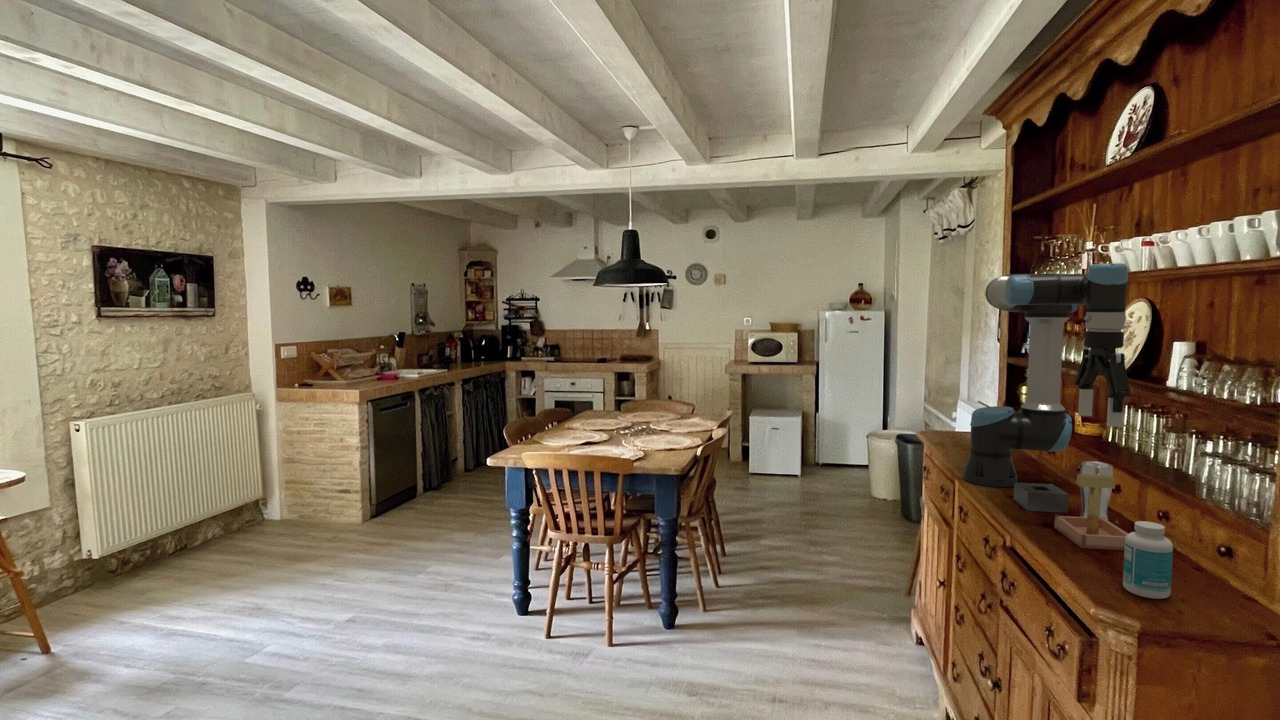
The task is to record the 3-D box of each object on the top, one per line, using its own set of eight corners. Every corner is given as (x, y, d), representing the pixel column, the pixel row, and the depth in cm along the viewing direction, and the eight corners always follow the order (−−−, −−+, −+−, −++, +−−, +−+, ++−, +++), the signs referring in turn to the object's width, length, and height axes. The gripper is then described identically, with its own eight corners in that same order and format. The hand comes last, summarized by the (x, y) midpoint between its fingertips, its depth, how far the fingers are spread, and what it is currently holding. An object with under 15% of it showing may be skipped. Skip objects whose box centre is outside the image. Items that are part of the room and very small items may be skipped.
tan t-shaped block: (1105, 534, 158) (1109, 475, 156) (1111, 537, 155) (1115, 478, 154) (1073, 532, 159) (1077, 474, 157) (1078, 536, 157) (1082, 477, 155)
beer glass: (1115, 526, 165) (1119, 468, 164) (1084, 525, 166) (1088, 467, 165) (1102, 517, 172) (1105, 461, 171) (1072, 516, 173) (1075, 460, 172)
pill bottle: (1179, 597, 126) (1184, 528, 125) (1153, 603, 124) (1158, 533, 122) (1138, 581, 133) (1142, 516, 132) (1113, 587, 131) (1117, 521, 129)
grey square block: (1013, 499, 188) (1014, 482, 187) (1051, 501, 186) (1052, 484, 186) (1027, 510, 178) (1028, 492, 177) (1067, 512, 176) (1068, 494, 176)
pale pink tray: (1054, 527, 165) (1054, 515, 165) (1103, 529, 163) (1103, 518, 163) (1081, 547, 151) (1081, 535, 151) (1134, 550, 149) (1135, 538, 149)
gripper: (1062, 328, 166) (1057, 411, 168) (1114, 333, 141) (1108, 430, 143) (1095, 328, 164) (1090, 412, 166) (1153, 333, 140) (1147, 431, 142)
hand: (1099, 420), depth 155 cm, fingers open, 13 cm apart
